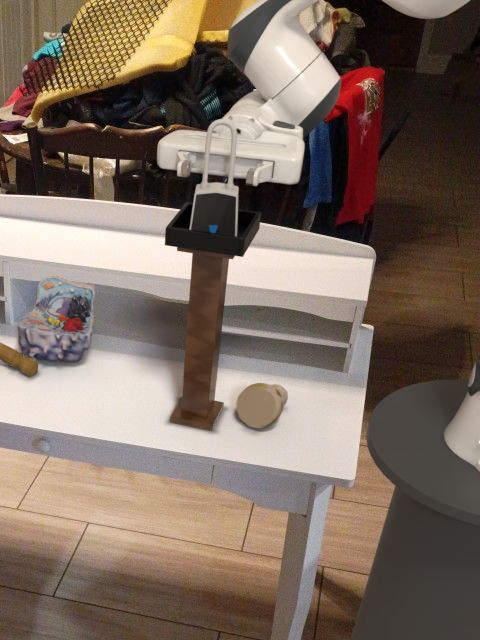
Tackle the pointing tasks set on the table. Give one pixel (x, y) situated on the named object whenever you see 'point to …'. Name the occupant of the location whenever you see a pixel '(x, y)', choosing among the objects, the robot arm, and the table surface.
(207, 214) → the padlock
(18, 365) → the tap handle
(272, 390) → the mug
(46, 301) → the cell model
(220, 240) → the dark tray
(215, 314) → the stand
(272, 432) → the table surface
